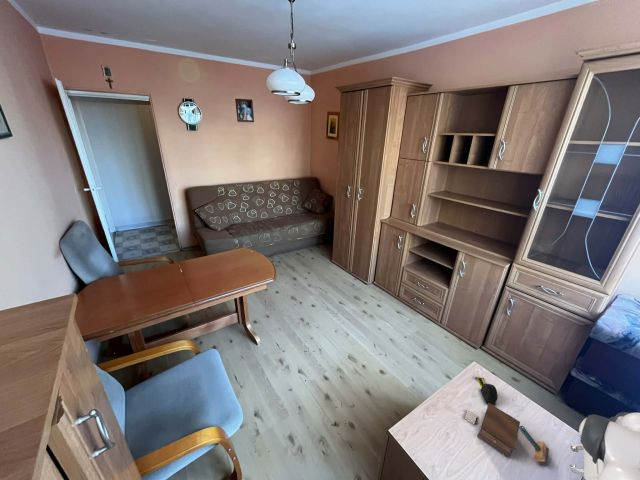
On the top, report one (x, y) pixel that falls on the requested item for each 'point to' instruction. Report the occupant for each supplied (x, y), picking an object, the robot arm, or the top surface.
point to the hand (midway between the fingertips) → (571, 457)
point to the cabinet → (499, 430)
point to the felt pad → (471, 417)
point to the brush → (537, 448)
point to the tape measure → (488, 392)
